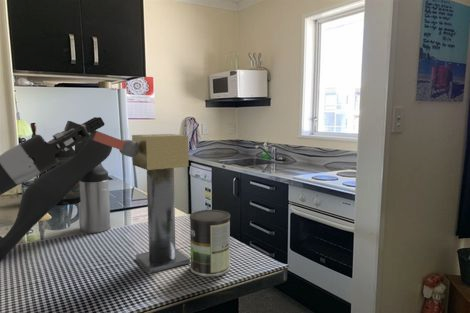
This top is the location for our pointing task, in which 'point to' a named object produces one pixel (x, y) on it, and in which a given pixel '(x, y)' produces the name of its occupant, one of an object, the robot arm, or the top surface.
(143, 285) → the top surface
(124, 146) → the lever
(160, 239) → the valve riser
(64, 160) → the beer stein
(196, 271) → the coffee can
